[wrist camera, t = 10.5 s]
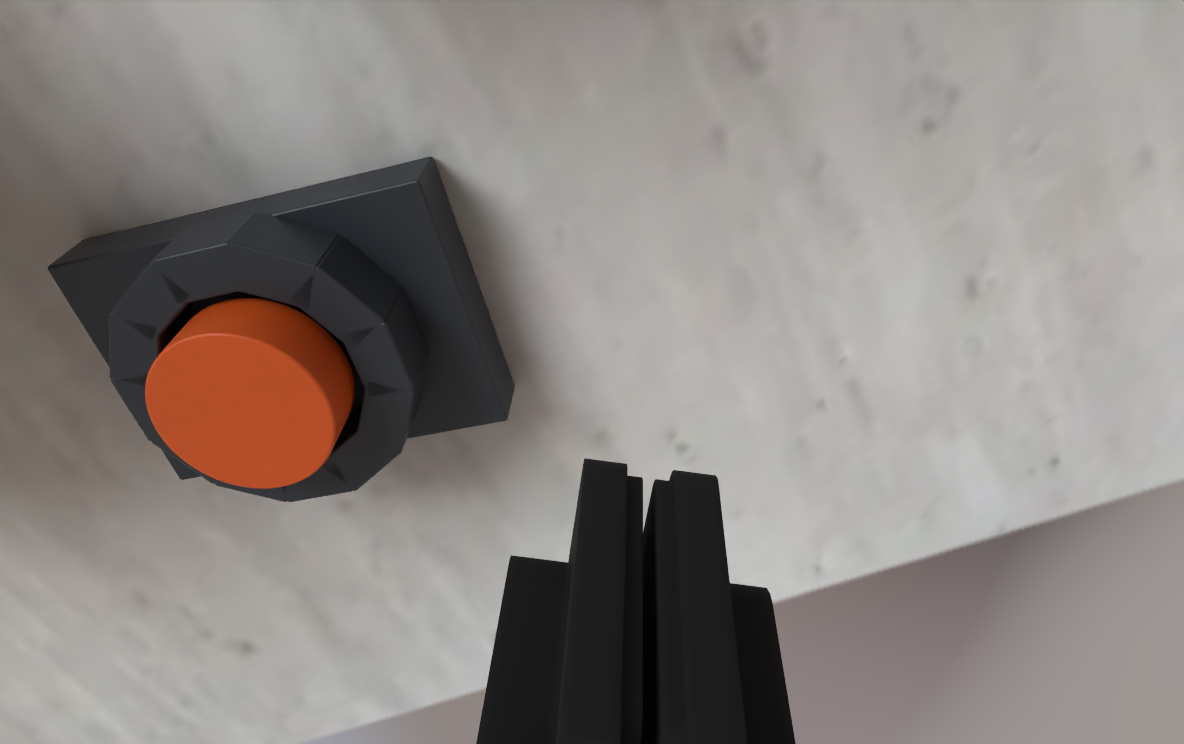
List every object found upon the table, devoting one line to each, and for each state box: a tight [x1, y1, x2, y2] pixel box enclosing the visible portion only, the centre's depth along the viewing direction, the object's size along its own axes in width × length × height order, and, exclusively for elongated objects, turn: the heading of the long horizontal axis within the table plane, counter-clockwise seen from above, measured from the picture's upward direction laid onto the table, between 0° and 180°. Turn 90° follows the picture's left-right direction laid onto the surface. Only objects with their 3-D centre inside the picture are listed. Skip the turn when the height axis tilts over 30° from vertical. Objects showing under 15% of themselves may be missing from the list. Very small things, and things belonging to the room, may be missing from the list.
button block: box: [48, 157, 515, 502], centre depth 23 cm, size 10×7×4 cm
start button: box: [145, 298, 355, 489], centre depth 21 cm, size 4×4×2 cm
